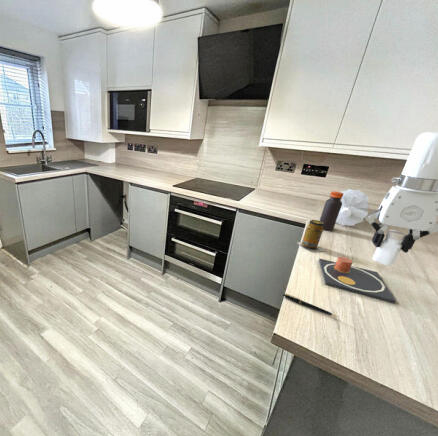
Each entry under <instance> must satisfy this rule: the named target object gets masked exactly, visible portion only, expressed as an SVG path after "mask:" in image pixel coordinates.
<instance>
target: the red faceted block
mask: <svg viewBox="0 0 438 436" xmlns="http://www.w3.org/2000/svg"><path fill="white" fill-rule="evenodd" d="M335 262H336V264H335V266H334V267H335V268H336V269H337V270H339V271H342V272H349V270H350V268H351V266H353V263H354V260H352V259H350V258H348V257H345V256H338V257H337V259H336V261H335Z"/></svg>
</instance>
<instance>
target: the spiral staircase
mask: <svg viewBox="0 0 438 436" xmlns="http://www.w3.org/2000/svg"><path fill="white" fill-rule="evenodd" d="M340 192H341V193H343V197H342V199H341V202H342V206H341V209H340V212H339V214H338V217H337V220H336V223H335V224H339V225H341V226H343V227H344V226H352V227H353V226H355V225H356V224H359V223H360V224H361V223H363V222H364V220H365V217H366V216H368V215H369V208H370V205H369V204H368V201H369V197H368V194H367V193H363V192H362V191H361V190H360V189H357V190H355V189H351V188H347V190H342V191H340Z"/></svg>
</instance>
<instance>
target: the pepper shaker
mask: <svg viewBox="0 0 438 436" xmlns="http://www.w3.org/2000/svg"><path fill="white" fill-rule="evenodd" d="M405 235H406V233H404V232H402V231H400V230H396V229H388V231H387V233H386V234H385V237H384V239H383V241H382V243H381V245H380V247H376V250H375V251H374V254H373V256H372V261H374V262H376V263H379V264H382V265H384V266H386V267H387V266H388V267H391V265H393V264H394V263H395V262H396V260H397V259H398V256H399V254H400V252H401V251H402V250H401V248H402V246H403V245H402V244H401V242H402V240H403V238H404V236H405Z"/></svg>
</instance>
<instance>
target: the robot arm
mask: <svg viewBox="0 0 438 436" xmlns="http://www.w3.org/2000/svg"><path fill="white" fill-rule="evenodd" d="M390 182H391V183H395V185H392V186H391V188H390V189H389V190H388V191H387V193H386V195H385V196H384V197H383V199H382V201H381V203H380V205H379V206H378V208H377V210H375V211H373V212H372V213H370V214H367V215H366V216H365V217H364V220H365V221H367V222H368V223H369V224H370V225H371V227H372V228H373V229H374V230H375V231H374V234H373V236H372V238H371V242H372V244H373V246H375V248H377V247H380V245H381V243H382V241H383V239H385V238H386V234H384V233H385V232H386V231H387V229H389V227H393V228H401V229H407V230H408V233H407V234H405V235H404V237H403V239H402V241H401V242H400V244H402V245H403V246H402V248H401V250H400V251H402V252H403V253H406V254H407V253H409V250H411V249H412V248H413V246H414V245H415V242H416V241H418V240H420V238H423V237H426V236H428V235H430V234H431V235H432V234H434V233H438V222H437V219H438V131H425V132H422V133H421V134H419V135H418V136H417V137H416V139H415V140H414V143H413V146H412V148H411V151H410V153H409V155H408V157H407V160H406V162H405V165H404V167H403V168H402V172H401V174H399V175H398V176H392V178H391V179H390ZM375 219H376V220H378V221H379V222H377V221H375Z"/></svg>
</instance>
